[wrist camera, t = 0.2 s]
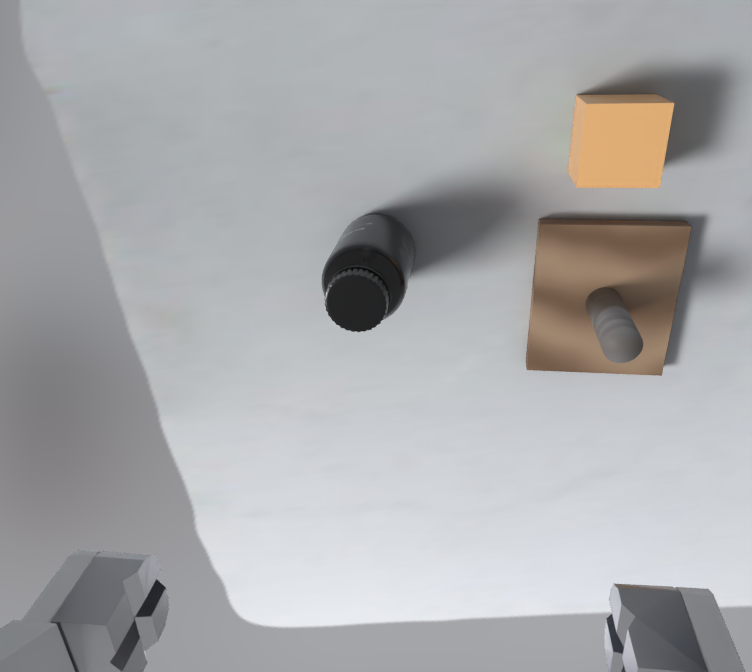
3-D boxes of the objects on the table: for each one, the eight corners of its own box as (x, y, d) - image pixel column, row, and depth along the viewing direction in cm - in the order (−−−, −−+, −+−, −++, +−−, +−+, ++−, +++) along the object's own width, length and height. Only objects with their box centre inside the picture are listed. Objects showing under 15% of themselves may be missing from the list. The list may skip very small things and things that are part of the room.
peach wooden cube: (576, 94, 51) (586, 103, 46) (656, 94, 50) (674, 103, 46) (567, 172, 54) (576, 187, 49) (643, 172, 53) (659, 188, 48)
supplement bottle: (354, 200, 57) (328, 245, 46) (426, 229, 57) (416, 280, 47) (330, 268, 60) (300, 324, 50) (398, 295, 61) (383, 357, 50)
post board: (538, 219, 56) (550, 257, 47) (686, 220, 54) (725, 261, 46) (525, 362, 62) (534, 418, 54) (657, 367, 60) (687, 426, 52)
